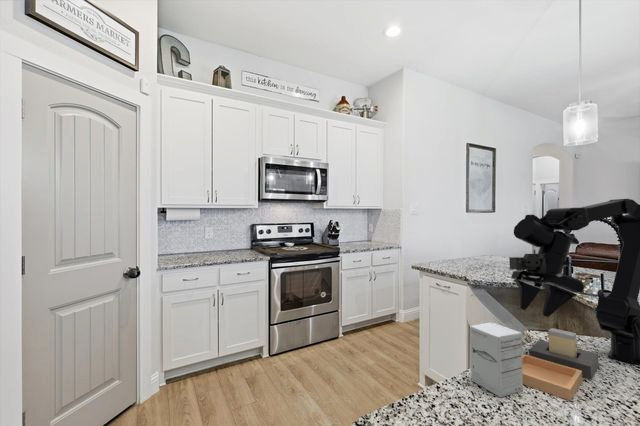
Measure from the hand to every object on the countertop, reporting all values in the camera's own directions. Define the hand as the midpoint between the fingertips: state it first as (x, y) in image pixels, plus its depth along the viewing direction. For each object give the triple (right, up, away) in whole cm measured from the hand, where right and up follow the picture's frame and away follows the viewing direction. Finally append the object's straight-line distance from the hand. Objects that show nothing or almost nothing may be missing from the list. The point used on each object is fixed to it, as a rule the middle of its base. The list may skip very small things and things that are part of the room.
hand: (533, 312), depth 73 cm
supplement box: (-14, -14, -8) cm, 21 cm away
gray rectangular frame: (+9, -14, +2) cm, 16 cm away
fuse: (+9, -14, +2) cm, 17 cm away
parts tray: (-2, -13, -6) cm, 15 cm away
